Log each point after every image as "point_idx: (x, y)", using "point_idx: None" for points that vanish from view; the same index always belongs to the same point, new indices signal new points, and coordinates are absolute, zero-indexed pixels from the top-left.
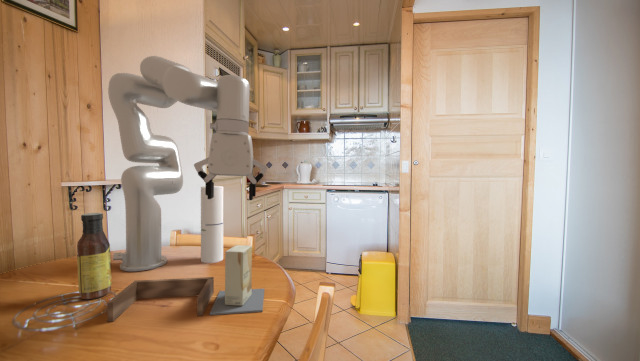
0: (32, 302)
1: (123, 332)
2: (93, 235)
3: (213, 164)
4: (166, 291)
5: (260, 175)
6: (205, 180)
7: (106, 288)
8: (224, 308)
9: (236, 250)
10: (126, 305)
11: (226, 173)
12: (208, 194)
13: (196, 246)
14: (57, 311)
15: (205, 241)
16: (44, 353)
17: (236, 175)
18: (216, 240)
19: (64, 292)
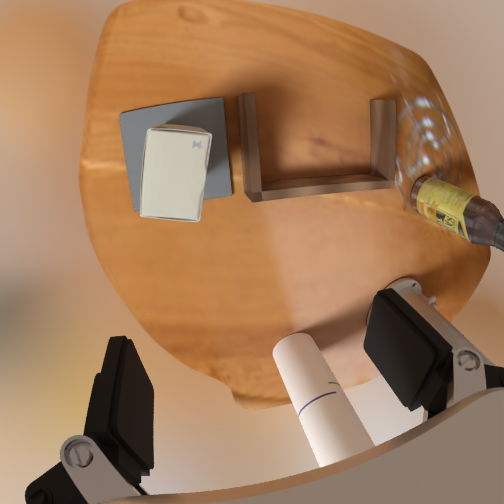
0: (462, 179)
1: (341, 65)
2: (496, 219)
3: None
4: (334, 178)
5: (38, 498)
6: (469, 358)
7: (418, 192)
8: (198, 115)
9: (175, 146)
10: (374, 138)
11: (385, 462)
12: (401, 301)
13: None
14: (437, 147)
15: (319, 364)
16: (396, 46)
17: (247, 489)
18: (297, 372)
19: None
